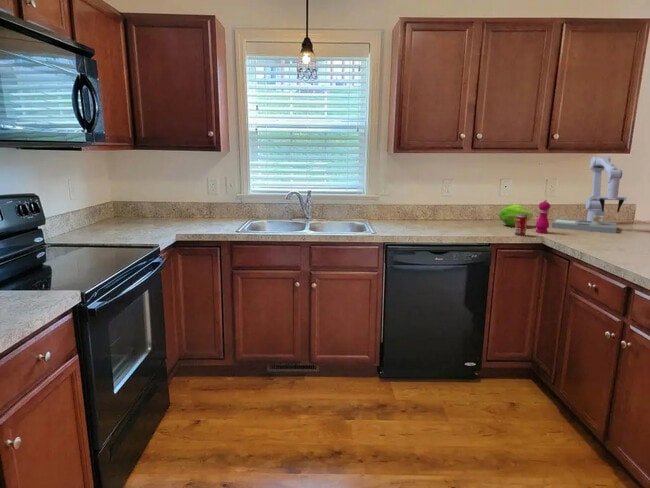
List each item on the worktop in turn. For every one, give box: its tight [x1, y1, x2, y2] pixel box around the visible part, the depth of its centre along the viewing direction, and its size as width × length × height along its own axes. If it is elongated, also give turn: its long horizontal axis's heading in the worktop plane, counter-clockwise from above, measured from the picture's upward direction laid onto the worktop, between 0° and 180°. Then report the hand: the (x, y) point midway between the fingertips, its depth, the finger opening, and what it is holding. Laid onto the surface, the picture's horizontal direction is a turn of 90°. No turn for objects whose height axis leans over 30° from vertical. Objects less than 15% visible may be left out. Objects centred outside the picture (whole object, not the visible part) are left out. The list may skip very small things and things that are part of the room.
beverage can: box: [514, 214, 528, 237], centre depth 246 cm, size 6×6×12 cm
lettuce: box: [498, 203, 534, 227], centre depth 275 cm, size 15×20×14 cm
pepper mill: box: [535, 199, 551, 234], centre depth 253 cm, size 7×7×20 cm
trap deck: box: [551, 217, 618, 234], centre depth 271 cm, size 34×22×3 cm, turn 56°
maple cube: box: [593, 215, 603, 225], centre depth 266 cm, size 5×5×5 cm
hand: (610, 212), depth 261 cm, fingers open, 7 cm apart
